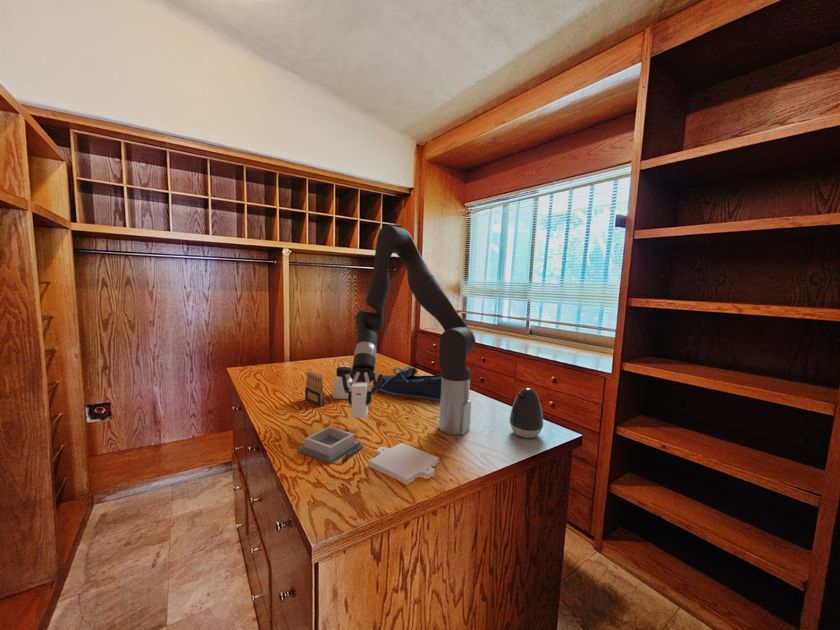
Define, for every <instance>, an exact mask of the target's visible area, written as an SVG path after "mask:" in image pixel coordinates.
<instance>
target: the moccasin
mask: <svg viewBox="0 0 840 630" xmlns="http://www.w3.org/2000/svg"><path fill="white" fill-rule="evenodd" d="M397 369H398V370H399V372H396V370H397ZM417 373H418V370H417V368H415V367H413V366H411V367H410V365H406V366H404V368H402V369H401V368H400V367H398V366H397V367H395V368H394V369H393V374H392V375H387V374H386V375H383V374H382V376H383V381H382V383H381V386H380V388H379V390H378V391H381V392H383V393H386V394H390V395H393V396H401V397H403V396H405V397H413V396H414V398H422V399H426V400H433V401H440V393H441V373H440V374H437V375H434V374H433V375H416V374H417ZM375 383H376V378H374V379H373V380H372V388H374V386H375Z"/></svg>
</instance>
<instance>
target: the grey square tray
mask: <svg viewBox="0 0 840 630" xmlns="http://www.w3.org/2000/svg"><path fill="white" fill-rule="evenodd" d="M355 436H356V435H355V433H353V432H349V431H346V430H343V429H340V428H336V427H334V426H330V425H329V426H327V427H325V428H323V429H321V430H318V431H317V432H314V433H313V434H311V435H309V436H307V437H304V442H303V443H304V444H303V445H301V446H298V447H297V452H299V453H301V454H303V455H307V456H309V457H312V458H314V459H317V460H319V461H321V462H325V463H327V464H330V465H331V464H333V463H334V462H336V461H338V460H339V459H341V458H344V457H345V456H346V455H348V454H349V453H350V452H352V451H353V450H354V449H356V448H357V447H358V446H360V445H361V443H362V442H361V441H358V440H355Z"/></svg>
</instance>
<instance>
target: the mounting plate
mask: <svg viewBox="0 0 840 630" xmlns="http://www.w3.org/2000/svg"><path fill="white" fill-rule="evenodd" d="M439 462H440V458H439V457H438V456H435V455H433V454H431V453H428V452H425V451H423V450H421V449H418V448H416V447H413V446H411V445H409V444H406V443H404V442H400V443H398V444H396V445H394V446H393V447H386V446H380V447H379V448H377V449H376V456H374V457H372V458H370V459H368V467H369V468H372V469H374V470H375V469H376V470H375V471H377V470H378V472H379V471H380V473H381V472H382V474H383V473H384V475H385V474H387V475H389V476H391V477H393V478H395V479H398V480H400V481H402V482H405V483H407V484H408V483H409V482H410V481H412V480H413V479H415V478H416V477H418V476H425V477H431V476H433V475H434V476H435V468H434V467H433V468H432V466H434V465H435V464H437V463H439ZM439 464H440V463H439ZM437 465H438V464H437ZM387 475H386V476H387ZM389 476H388V477H389ZM391 477H390V478H391ZM393 478H392V479H393ZM395 479H394V480H395Z"/></svg>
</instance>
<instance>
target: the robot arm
mask: <svg viewBox="0 0 840 630" xmlns="http://www.w3.org/2000/svg"><path fill="white" fill-rule="evenodd" d="M374 252H375V253H374V260H373V269H372V275H371V276H372V277H371V280H370V283H369V288H368V291H367V294H366V299H365V304H366V305H367V306H368V307H371V308H372V309H374V310H376V312H375V311H370V310H366V309H360V310H359V311H358V312H357V313H356V315H355V319H354V320H355V321H354V322H355V327H356V333H357V339H356V345H355V350H354V354H353V361H352V367H351V368H352V371H351V372H350V374H346V375H345V374H342V381H343V388H344V391H345V393H349V394H348V399H347V403H348V404H349V405H350V406H352V387H351V386H352V385H353V383H356V382H366V383H368V387H367V389H368V392H367V396H366V406H368V407H369V405H371V403H372V395H374V394H378V392H379V391H380V390H379V388H380V386H381V383H382V381H383V376H382V375H383V374H382V373H380V374H377V373H376V372H375V371H376V361H377V343H378V334H377V333H378V332H380V331H381V330H382V329H383V327H384V317H385V315H384V313H385V312H384V311H385V304H386V300H387V297H388V294H389V290H390V277H389V276H390V275H389V264H390V262H391V261H390V260H391V258H392V255H393V254H396V255H397V256H398V257H399V259H400V260H401V262H402V263H403V265H404V267H405V269H406V274H407V275H406V277H407V283H408V287H409V289H410V291H411V292H412V294H413V296H414V297H415V299H416V301H417V302H418V304H419V305H420V306H421V307H422V309H424V310H425V311H426V312H427V313H428V314H430V315H431V316H432V317H433V318H434V319H435V320H436V321H437V322H438V323H439V324H440V326H441V327H442V329H443V332H442V334H441V336H440V338H439V342H438V344H439V347H438V357H439V358H438V363H439V364H438V365H439V369H440V372H441V373H440V374H441V393H440V400H439V419H438V420H439V421H438V423H439V424H438V429H439V431H440V432H442V433H445V434H447V435H451V436H452V435H453V436H454V435H455V436H456V435H459V436H464V435H465V434H466V433H467V432H468V431H469V430H470V429H471V409H472V408H471V407H472V400H470V388H471V387H470V386H471V370H470V368H469V367H467V355H469V354H470V353H471V352H472V351H474V349H475V348H476V336H475V335H474V332H473V331H472V329H471V328H470V327H469V325H468V324H467V323H466V322H465V321H464V319H463V318H462V317H461V315H460V314H459V313H458V311H457V310H456V309H455V307H454V305H453V303H451V301H450V299H449V297H448V296H447V294H446V292H445V291H444V290H443V288H442V286H441V285H440V283H439V282H438V280H437V278H436V276H435V275H434V274H433V272H432V271H431V269H430V267H429V266H428V264H427V263H426V261H425V259H424V258H423V257H422V255H421V253H420V251H419V250H418V247H417V245H416V243H415V242H414V239H413V237H412V235H411V234H410V232H409V231H408V230H407V229H405V228H403V227H400V226H395V225H391V224H387V225H384V226H382V227H381V228H380V230H379V232H378V234H377V239H376V244H375V251H374ZM350 377H351V379H352V380H353V381H352V383H351V386H350V388H348V386H347V381H348V380H349V378H350ZM374 378H376V383H375V386H374V387H372V386H371V383H372V382H373V379H374Z"/></svg>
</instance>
